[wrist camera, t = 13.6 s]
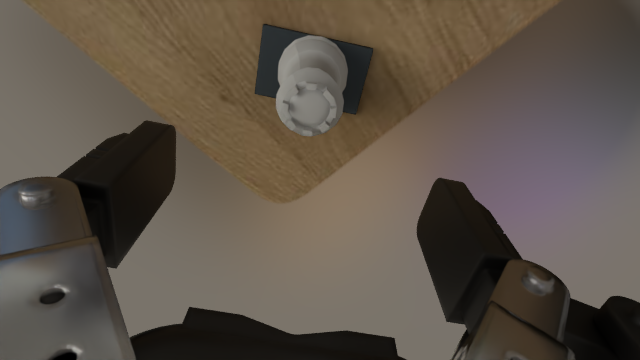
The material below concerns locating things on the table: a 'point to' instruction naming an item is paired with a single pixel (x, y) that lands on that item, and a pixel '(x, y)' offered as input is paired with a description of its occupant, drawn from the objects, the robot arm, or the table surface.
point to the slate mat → (281, 38)
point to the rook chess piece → (311, 85)
